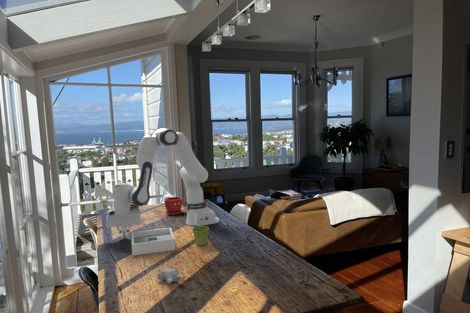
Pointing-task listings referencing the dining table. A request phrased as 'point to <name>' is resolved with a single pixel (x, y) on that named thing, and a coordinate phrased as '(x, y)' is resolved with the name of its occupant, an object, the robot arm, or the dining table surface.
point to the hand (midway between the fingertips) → (124, 232)
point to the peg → (124, 232)
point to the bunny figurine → (169, 275)
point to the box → (152, 241)
